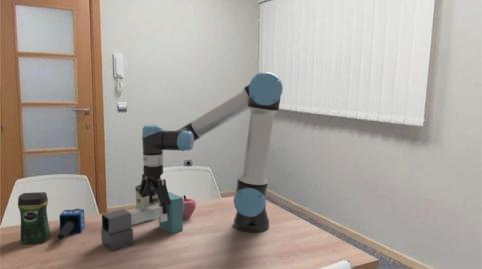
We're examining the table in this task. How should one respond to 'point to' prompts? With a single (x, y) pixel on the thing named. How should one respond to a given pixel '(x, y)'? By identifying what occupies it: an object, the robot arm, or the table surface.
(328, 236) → the table surface
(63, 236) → the microphone
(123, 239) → the stand
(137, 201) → the coffee can
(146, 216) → the slip tube
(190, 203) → the apple
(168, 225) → the socket block
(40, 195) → the coffee jar
